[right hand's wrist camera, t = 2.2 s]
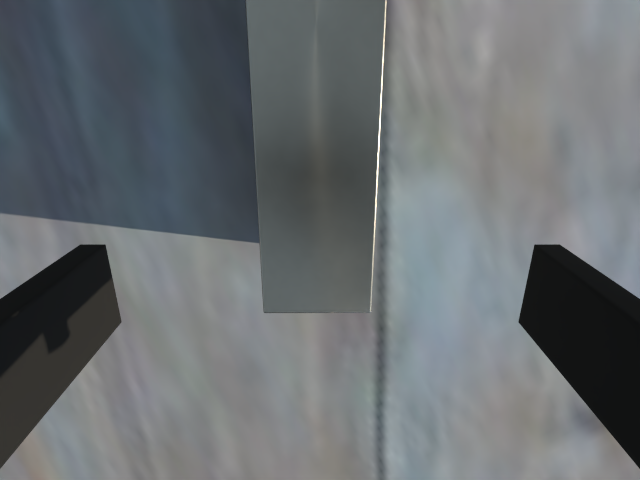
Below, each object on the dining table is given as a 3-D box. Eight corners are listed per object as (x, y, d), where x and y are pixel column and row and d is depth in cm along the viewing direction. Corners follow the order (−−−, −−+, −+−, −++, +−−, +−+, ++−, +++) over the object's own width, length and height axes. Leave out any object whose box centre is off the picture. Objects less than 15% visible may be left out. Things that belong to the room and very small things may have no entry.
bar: (355, 246, 26) (371, 313, 18) (279, 246, 26) (263, 313, 18) (371, -249, 17) (412, -505, 10) (260, -248, 17) (215, -505, 10)
